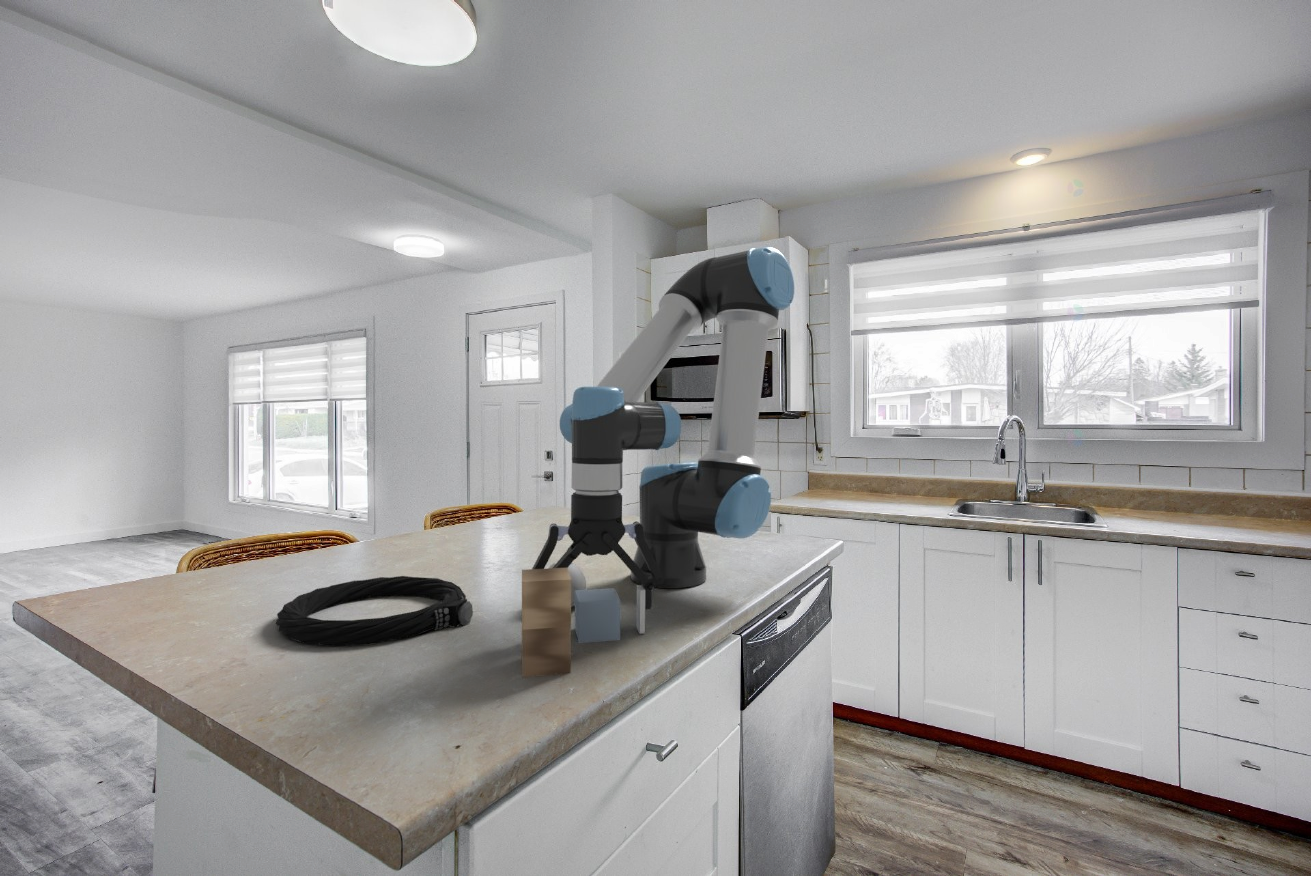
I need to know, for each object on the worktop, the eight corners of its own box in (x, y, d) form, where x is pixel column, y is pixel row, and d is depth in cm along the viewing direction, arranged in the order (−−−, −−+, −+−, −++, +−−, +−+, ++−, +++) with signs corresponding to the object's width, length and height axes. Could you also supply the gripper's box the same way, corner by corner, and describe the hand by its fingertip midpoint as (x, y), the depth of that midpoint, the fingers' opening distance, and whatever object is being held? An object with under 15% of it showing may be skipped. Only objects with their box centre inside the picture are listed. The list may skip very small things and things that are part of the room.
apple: (594, 605, 104) (595, 559, 104) (564, 617, 98) (564, 568, 98) (562, 597, 109) (562, 553, 108) (530, 608, 102) (530, 561, 102)
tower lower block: (566, 654, 83) (567, 611, 83) (570, 673, 77) (570, 626, 77) (521, 658, 81) (521, 614, 81) (522, 677, 76) (522, 629, 75)
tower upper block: (567, 611, 83) (567, 567, 82) (570, 626, 77) (571, 579, 76) (521, 614, 81) (521, 569, 81) (522, 629, 75) (522, 581, 75)
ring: (358, 569, 114) (507, 578, 108) (359, 590, 114) (507, 600, 108) (228, 616, 87) (416, 632, 81) (228, 643, 87) (417, 660, 81)
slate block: (613, 626, 94) (613, 588, 94) (620, 640, 88) (620, 599, 88) (574, 629, 93) (575, 590, 93) (578, 643, 87) (578, 602, 87)
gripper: (672, 487, 96) (670, 620, 97) (510, 489, 91) (509, 629, 91) (685, 493, 89) (683, 636, 90) (509, 495, 83) (508, 648, 84)
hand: (595, 633), depth 90 cm, fingers open, 13 cm apart
